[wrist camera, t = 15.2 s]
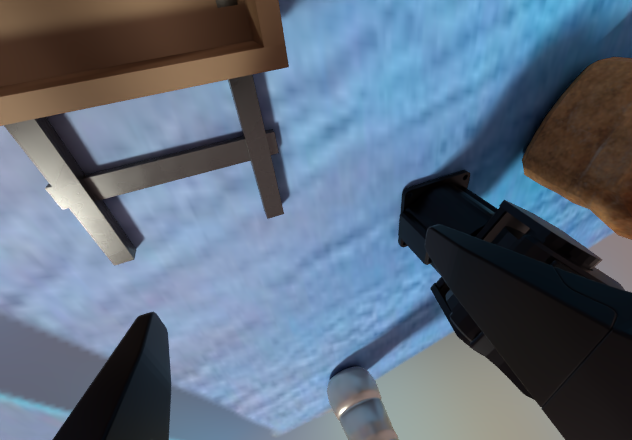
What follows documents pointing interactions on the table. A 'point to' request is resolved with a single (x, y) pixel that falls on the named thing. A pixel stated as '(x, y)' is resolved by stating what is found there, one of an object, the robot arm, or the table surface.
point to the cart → (127, 50)
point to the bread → (590, 144)
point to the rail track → (148, 170)
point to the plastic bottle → (359, 405)
